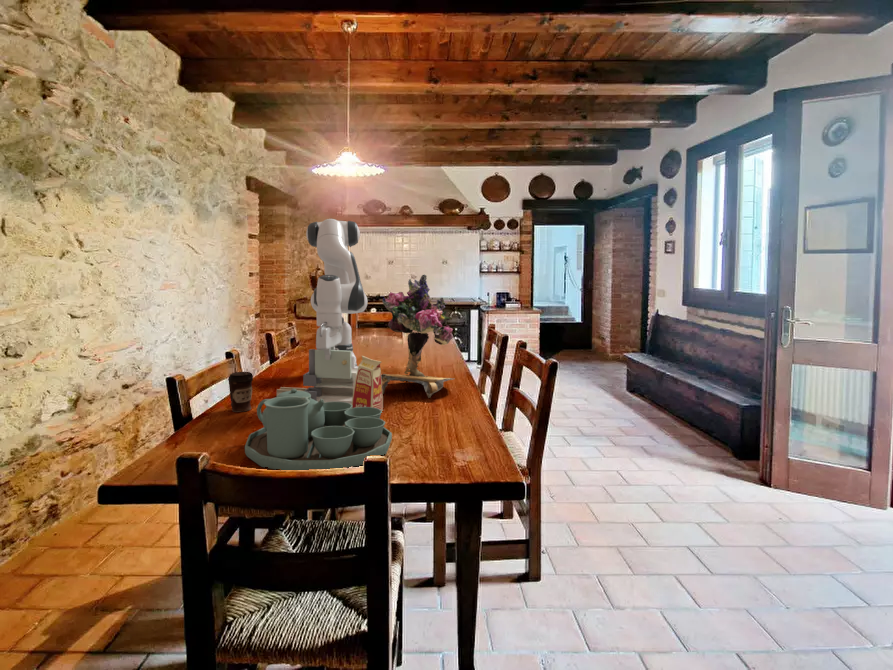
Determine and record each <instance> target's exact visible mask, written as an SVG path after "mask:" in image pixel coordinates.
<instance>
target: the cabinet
mask: <svg viewBox="0 0 893 670" xmlns="http://www.w3.org/2000/svg"><path fill="white" fill-rule="evenodd" d="M357 371H358V368H351V379H341V378H317V377H316V375H309V371H308V372H306V373H304V374H302V376H303V377H302V378H303V380H302V382H303V385H302V386H304V387H308V388H306V390H305V392H307V393H309V394H310V395H311V399H314V400H316V401H318V402H319V401H320V399H323V400H324V403H325V402H346V403H350V404H351V405H352V397H353V390H354V384H355V379H356V375H357Z"/></svg>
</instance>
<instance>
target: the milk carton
mask: <svg viewBox="0 0 893 670" xmlns="http://www.w3.org/2000/svg"><path fill="white" fill-rule="evenodd" d="M361 358H362V359H361V361H360V363H359V364H358V365H357V366H358V371H357V375H356V379H355V384H354V390H353V397H352V405H353V407H352V408H355V407H373V408H378V409H380V410H381V411H384V409H383V408H384V396H383V394H382V379H381V375H382V373H381V372H382V371H381V363H382V361H381V360H376V359H371V358H369V357H367V356H364V355H361Z"/></svg>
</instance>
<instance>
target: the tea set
mask: <svg viewBox="0 0 893 670" xmlns="http://www.w3.org/2000/svg"><path fill="white" fill-rule="evenodd" d="M264 405H265V408H264V410H263V411H262V407H263V406H264ZM352 407H353V405H351V404H350V403H346V402H325V403H324V400H323V399H320V401H319V402H318V401H316V400H314V399H311V395H310V394H309V393H307V392H305V391H297V390H296V389H292V390H291V391H286V392H282V393H280V394H279V395H277V394H276V397H273V398H265V399H262V400H261V401H260V402H259V403H258V404H257V408H256V415H257V417H258V419H259V421H260V423H262V426H263V427H262V428H260V429H257V430H256V431H254V432H251V433H250V434H248V437H247V439H246V443H245V445H244V453H245V456H246V457H247V458H248V459H250V460H251V461H253V462H254V463H256V464H257V465H258V466H259V467H262V468H265V467H268V468H267V469H271V470H276V469H281V470H309V469H330V468H343V467H351V466H357V467H361V466H360V465H362V464H363V461H364V458H365V457H366V456H370V455H383V456H382V457H384V456H385V455H386V454H387V453H388V450H389V448H390V444H391V442H392V440H393V434H392V432H391V431H390V430H389V429H387V428H386V427H385V425H386V421H385V420H383V419H382V418H381V415H382V414H383V412H382V411H381V410H380V409H378V408H373V407H355V408H352ZM381 413H382V414H381ZM384 454H385V455H384ZM362 466H363V465H362ZM281 470H280V471H281Z"/></svg>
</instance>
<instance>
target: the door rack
mask: <svg viewBox="0 0 893 670" xmlns="http://www.w3.org/2000/svg"><path fill="white" fill-rule="evenodd" d="M292 389H296V390H297V391H305V390H306V389H307V387H285V386H283V387H282V386H280V387H279V389H278V388H277V389H276V396H277V395H279V394H280V393H282V392H286V391H291V390H292Z"/></svg>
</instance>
